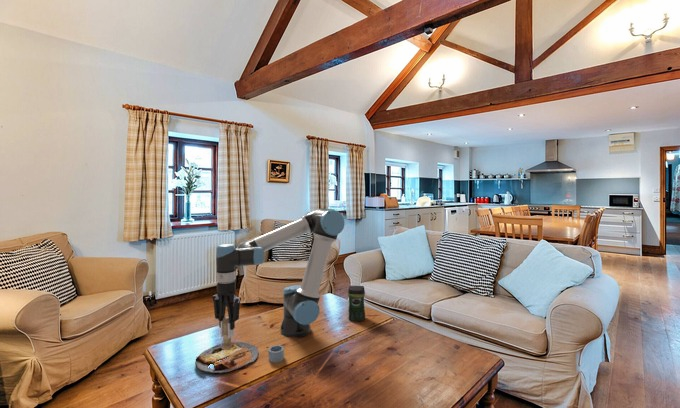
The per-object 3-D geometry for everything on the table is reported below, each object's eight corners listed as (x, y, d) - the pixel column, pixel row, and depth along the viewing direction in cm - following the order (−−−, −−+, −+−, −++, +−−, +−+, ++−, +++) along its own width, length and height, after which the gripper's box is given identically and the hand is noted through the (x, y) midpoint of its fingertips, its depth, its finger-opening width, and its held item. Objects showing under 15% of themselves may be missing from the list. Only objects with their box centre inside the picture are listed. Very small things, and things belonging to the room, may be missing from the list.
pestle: (226, 345, 135) (226, 316, 134) (232, 347, 134) (232, 317, 133) (221, 349, 132) (221, 318, 131) (227, 350, 131) (227, 319, 130)
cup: (273, 355, 136) (273, 344, 136) (286, 357, 134) (286, 346, 134) (265, 362, 130) (265, 351, 130) (278, 365, 128) (278, 353, 128)
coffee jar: (365, 316, 178) (365, 284, 177) (365, 322, 170) (365, 288, 169) (348, 315, 179) (348, 283, 178) (347, 321, 171) (347, 287, 170)
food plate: (210, 384, 116) (210, 375, 116) (186, 361, 132) (186, 353, 132) (268, 359, 134) (268, 351, 134) (240, 342, 150) (240, 335, 150)
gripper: (204, 281, 131) (205, 336, 132) (236, 285, 126) (237, 343, 127) (217, 277, 138) (218, 329, 139) (247, 280, 133) (248, 335, 134)
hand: (227, 335), depth 133 cm, fingers closed on pestle, 3 cm apart
